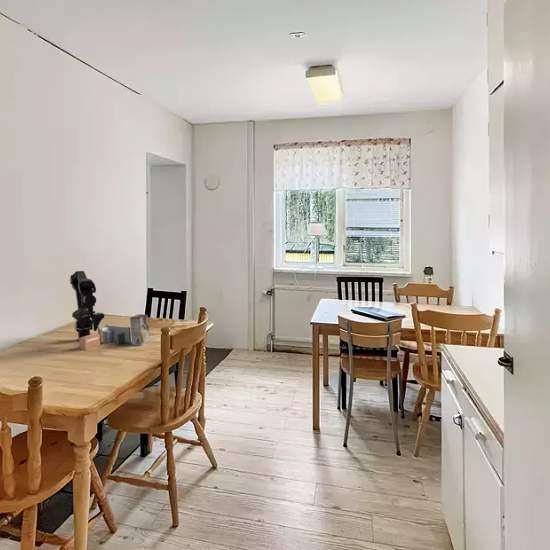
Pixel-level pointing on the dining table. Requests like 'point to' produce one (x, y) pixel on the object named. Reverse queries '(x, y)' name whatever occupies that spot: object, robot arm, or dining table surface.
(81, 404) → the dining table surface
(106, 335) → the shelf
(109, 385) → the dining table surface
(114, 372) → the dining table surface
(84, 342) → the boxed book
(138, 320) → the coffee box
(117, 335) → the bookend
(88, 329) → the robot arm
